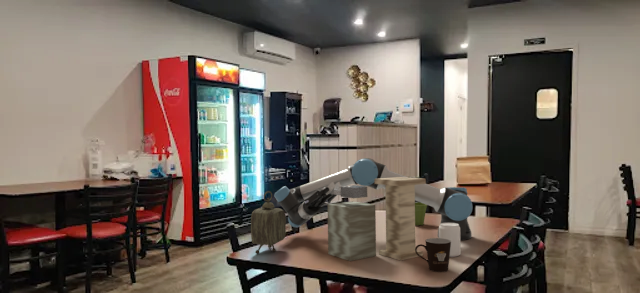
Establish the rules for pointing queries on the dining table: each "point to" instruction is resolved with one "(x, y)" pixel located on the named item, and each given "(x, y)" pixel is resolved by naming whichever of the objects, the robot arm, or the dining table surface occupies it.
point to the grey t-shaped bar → (350, 191)
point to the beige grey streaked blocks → (360, 223)
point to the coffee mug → (437, 253)
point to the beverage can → (451, 237)
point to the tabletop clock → (268, 225)
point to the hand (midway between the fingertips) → (336, 185)
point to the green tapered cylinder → (420, 213)
